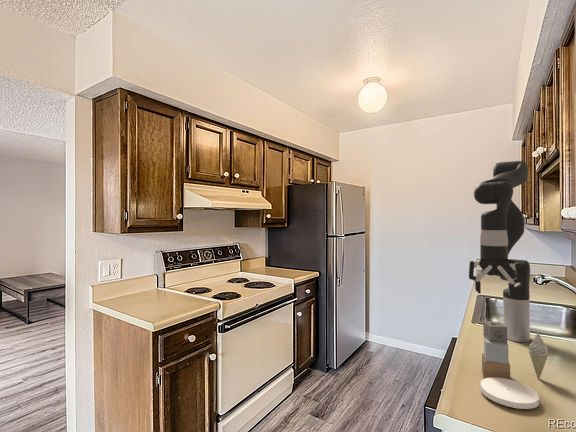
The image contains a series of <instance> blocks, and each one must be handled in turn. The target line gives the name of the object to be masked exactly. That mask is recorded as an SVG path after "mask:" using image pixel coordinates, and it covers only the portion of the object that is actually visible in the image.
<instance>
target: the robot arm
mask: <svg viewBox="0 0 576 432" xmlns="http://www.w3.org/2000/svg"><path fill="white" fill-rule="evenodd" d="M492 168H493V169H492V178H491V179H488V180H484V181H481V182H480V183H478V184H477V185H476V187H475V188H474V190H473V197H474V200H475V201H476V202H477V203H478V204H481V205H496V207H495V209H493V210H489V211H484V212H482V213H481V215H480V238H479V239H480V241H479V244H480V245H479V247H480V258H479V261H473V260H470V261H469V267H468V278H469V280H472V281H473V282H475V283H474V286H475V287H474V289H475V292H477V294H481V291H482V289H481V284H482V283H481V280H482V279H483V278H484V277H485V276H486V275H487V276H491V277H492V276H496V277H499V278H500V279H501V280H502V281H507V282H508V283H507V284H508V288H505V289H503V290H502V303H503V304H502V310H503V311H502V312H503V313H502V317H503V320H502V321H503V323H502V324H503V325H505V326H506V327H507V340H509V341H513V342H518V343H529V342H530V341H531V311H530V310H531V307H530V306H531V305H530V304H531V301H530V280H531V265H530V262H529V261H528V260H525V259H513V258H511V259H509V254H510V253H511V251H512V249H513V248H514V246H515V245H516V244H517V243H518V242H519V241H520V239H521V237H522V236H523V235H524V232H525V216H524V214H523V212H522V210H521V209H520V208H519V207H518V206H517V204H515V203H514V201H513V200H512V199H513V195H514V188H516V187H518V186H521V185H523V184H525V183H526V182H527V180H528V177H529V167H528V164H527V162H525V161H523V160H515V161H513V160H512V161H501V162H496V163H495V164H494V165H493V167H492ZM477 266H479V267H480V268H481V270H480V271H479V273H478V274H477V275H476V276H475V275H474V274H475V269H476V268H477ZM516 284H519V285H516ZM515 285H516V286H515Z"/></svg>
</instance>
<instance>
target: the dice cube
mask: <svg viewBox="0 0 576 432" xmlns="http://www.w3.org/2000/svg"><path fill="white" fill-rule="evenodd" d="M482 326H483V330H482V332H483V338H484V337H485V338H486V339H487V340H488V341H489V342H500V343H507V344H508V339H507V327H506V326H505V325H503V323H502V322H501V321H488V320H487V321H484V320H483V325H482Z"/></svg>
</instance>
